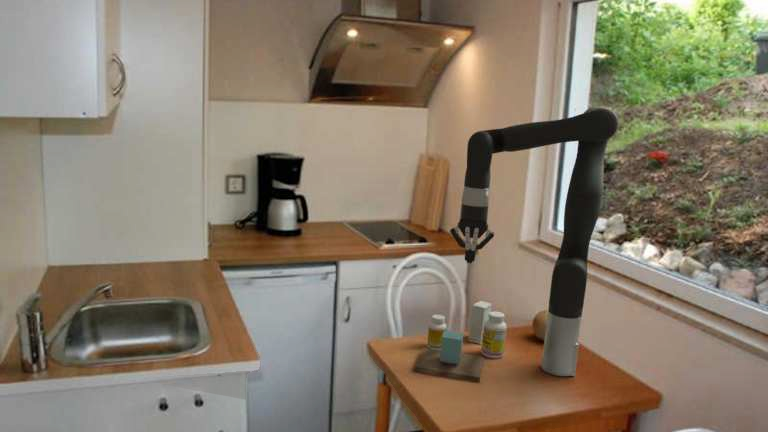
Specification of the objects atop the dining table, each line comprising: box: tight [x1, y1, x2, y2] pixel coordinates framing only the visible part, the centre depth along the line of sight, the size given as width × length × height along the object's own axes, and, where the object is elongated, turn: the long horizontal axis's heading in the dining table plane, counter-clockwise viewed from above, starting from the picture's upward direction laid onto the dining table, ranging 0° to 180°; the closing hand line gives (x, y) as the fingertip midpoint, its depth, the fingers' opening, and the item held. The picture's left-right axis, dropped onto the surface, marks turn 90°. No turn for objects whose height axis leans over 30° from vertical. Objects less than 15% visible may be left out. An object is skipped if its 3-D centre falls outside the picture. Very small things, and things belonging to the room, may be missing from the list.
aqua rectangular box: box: [440, 329, 464, 364], centre depth 182 cm, size 5×5×7 cm
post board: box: [413, 347, 485, 383], centre depth 183 cm, size 18×14×2 cm
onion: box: [531, 309, 548, 342], centre depth 208 cm, size 10×10×10 cm
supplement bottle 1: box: [426, 314, 448, 351], centre depth 196 cm, size 5×5×10 cm
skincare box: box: [468, 300, 493, 345], centre depth 203 cm, size 6×4×12 cm
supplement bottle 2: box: [480, 311, 508, 359], centre depth 193 cm, size 7×7×13 cm
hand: (469, 262), depth 185 cm, fingers closed
